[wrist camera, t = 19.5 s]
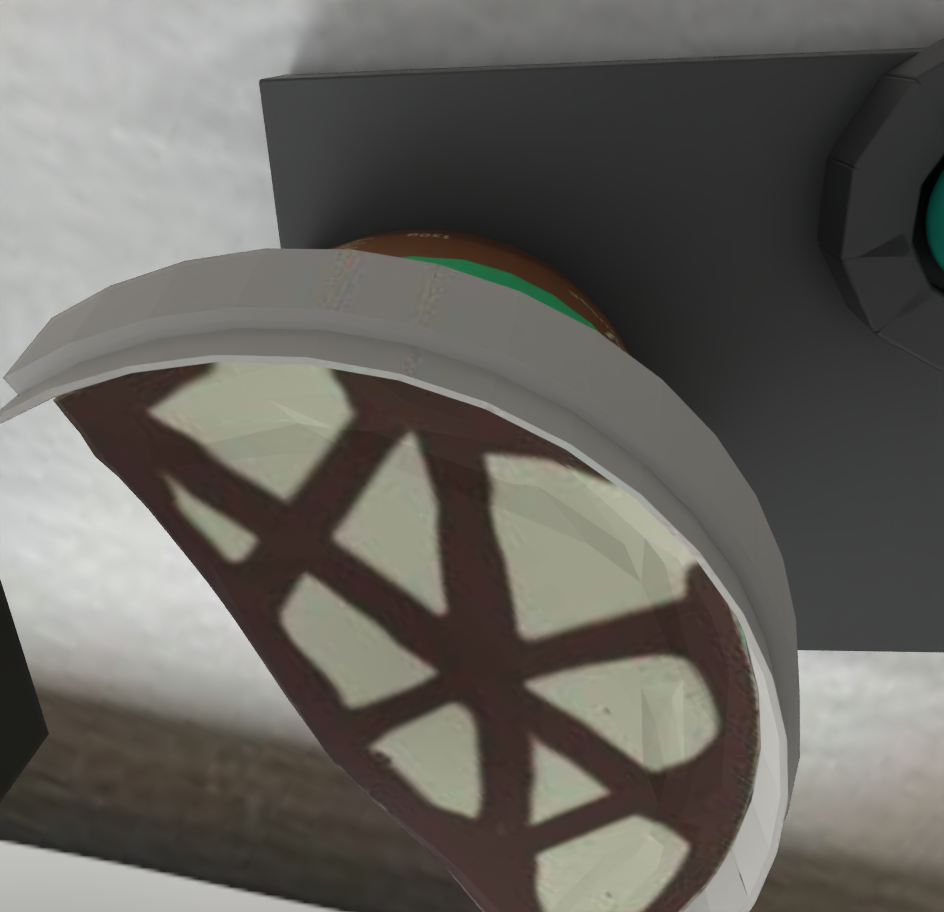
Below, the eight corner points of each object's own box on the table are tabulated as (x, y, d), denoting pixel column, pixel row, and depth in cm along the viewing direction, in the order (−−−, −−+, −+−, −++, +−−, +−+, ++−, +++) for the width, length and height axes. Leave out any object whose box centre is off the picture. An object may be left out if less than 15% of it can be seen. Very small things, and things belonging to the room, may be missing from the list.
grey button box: (1136, 13, 17) (1271, 8, 14) (989, 607, 23) (1060, 700, 19) (282, 50, 18) (226, 55, 15) (348, 600, 24) (317, 686, 21)
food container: (797, 542, 20) (998, 960, 11) (556, 647, 22) (561, 1080, 13) (520, 21, 16) (484, 11, 7) (252, 201, 18) (-54, 379, 9)
